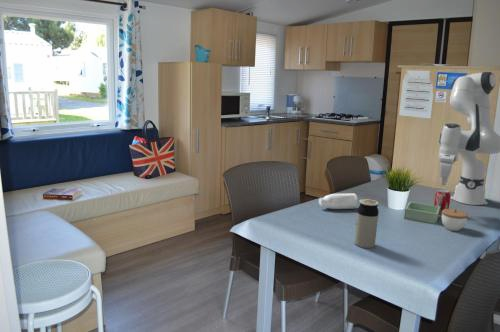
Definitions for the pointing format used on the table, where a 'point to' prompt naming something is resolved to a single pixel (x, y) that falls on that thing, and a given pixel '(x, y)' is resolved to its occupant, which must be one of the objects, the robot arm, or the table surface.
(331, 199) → the white bottle
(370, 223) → the travel mug
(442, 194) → the soda can
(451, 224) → the lidded jar
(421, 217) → the serving tub
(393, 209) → the table surface
